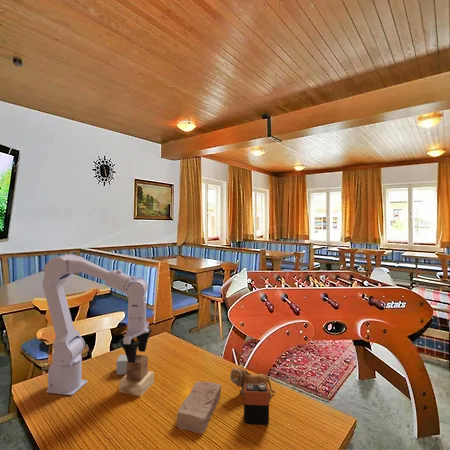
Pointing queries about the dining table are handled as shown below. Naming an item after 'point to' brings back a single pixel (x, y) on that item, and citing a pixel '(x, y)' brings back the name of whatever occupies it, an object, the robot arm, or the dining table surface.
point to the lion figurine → (248, 379)
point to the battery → (256, 404)
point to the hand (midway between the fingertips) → (136, 356)
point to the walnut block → (137, 368)
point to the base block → (136, 384)
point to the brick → (198, 407)
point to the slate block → (122, 365)
